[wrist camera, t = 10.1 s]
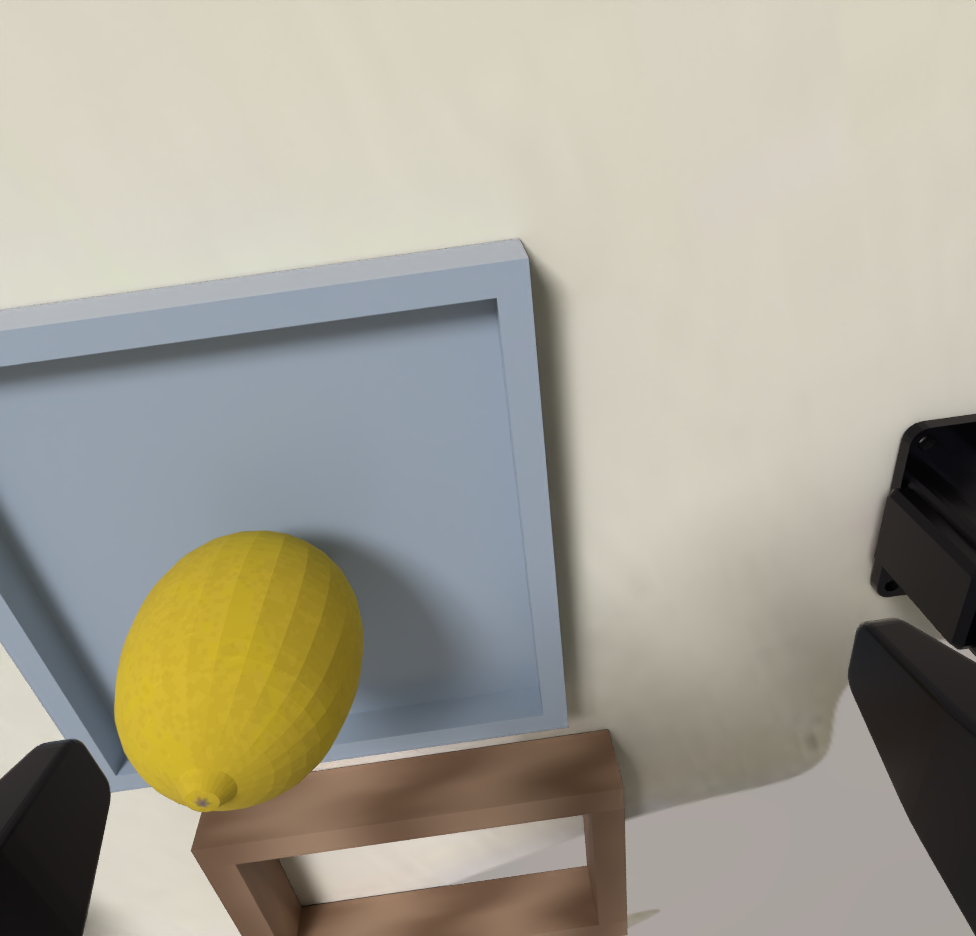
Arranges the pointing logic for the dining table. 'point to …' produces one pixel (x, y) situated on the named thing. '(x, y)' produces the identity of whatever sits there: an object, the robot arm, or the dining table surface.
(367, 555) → the tray
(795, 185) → the dining table surface
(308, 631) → the lemon
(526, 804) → the holder
